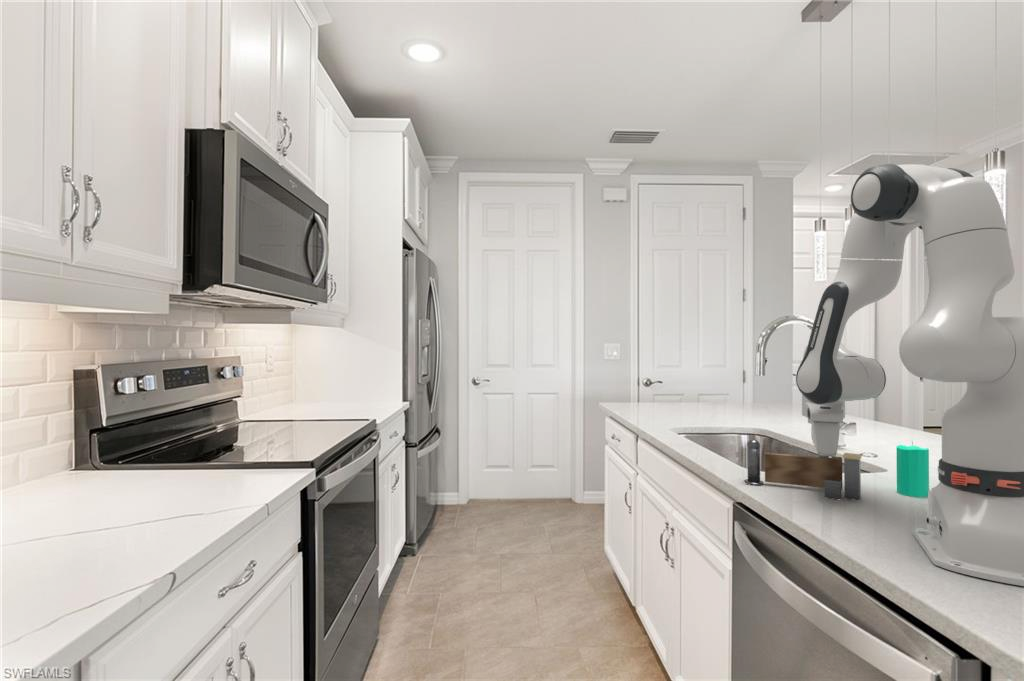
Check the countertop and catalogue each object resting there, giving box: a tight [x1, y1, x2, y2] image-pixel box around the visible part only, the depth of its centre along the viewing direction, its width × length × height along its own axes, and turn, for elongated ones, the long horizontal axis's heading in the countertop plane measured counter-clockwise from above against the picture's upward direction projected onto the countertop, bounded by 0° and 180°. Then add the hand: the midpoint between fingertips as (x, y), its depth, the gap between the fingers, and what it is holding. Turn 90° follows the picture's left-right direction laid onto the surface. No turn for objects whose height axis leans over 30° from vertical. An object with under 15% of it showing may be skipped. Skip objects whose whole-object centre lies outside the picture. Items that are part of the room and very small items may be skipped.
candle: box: [896, 440, 930, 498], centre depth 121 cm, size 6×6×12 cm
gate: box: [764, 452, 843, 491], centre depth 125 cm, size 16×2×7 cm, turn 63°
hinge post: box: [743, 438, 765, 487], centre depth 130 cm, size 4×4×11 cm
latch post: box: [824, 452, 862, 501], centre depth 118 cm, size 5×7×10 cm
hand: (822, 467), depth 126 cm, fingers closed
